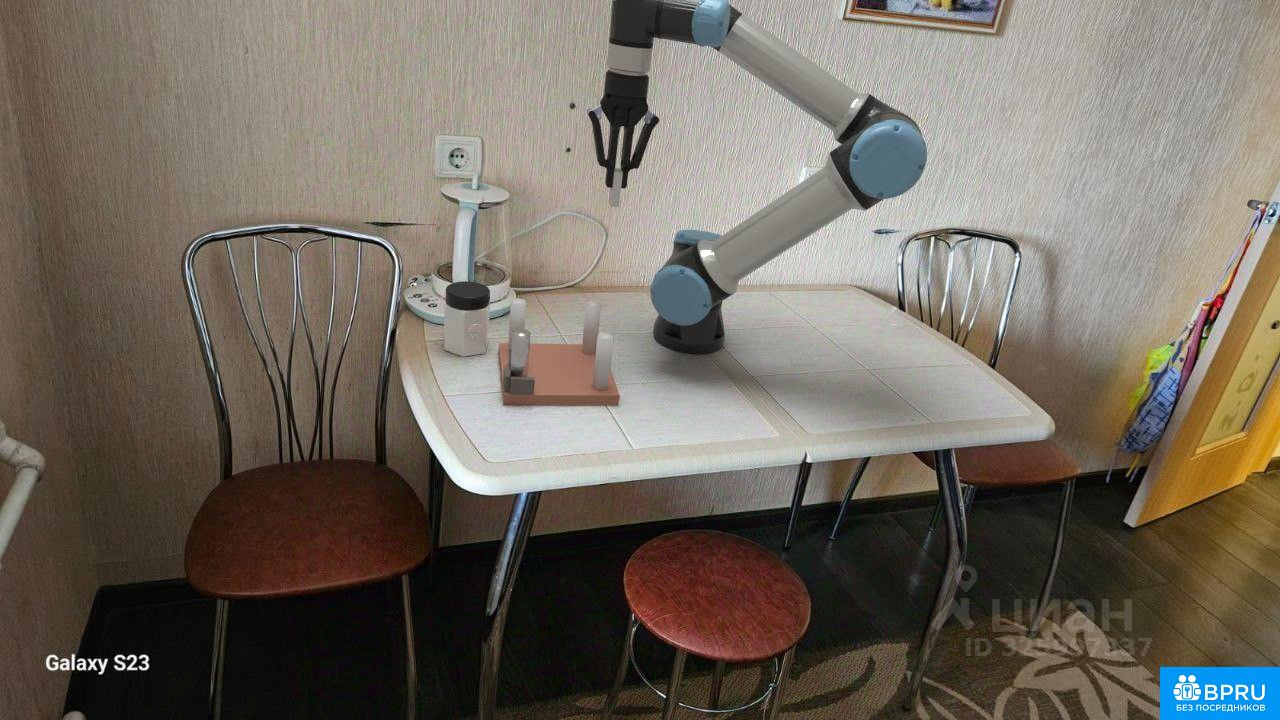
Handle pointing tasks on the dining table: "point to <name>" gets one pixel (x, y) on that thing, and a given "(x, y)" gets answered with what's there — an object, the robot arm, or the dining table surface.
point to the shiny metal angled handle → (519, 353)
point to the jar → (466, 318)
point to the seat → (561, 366)
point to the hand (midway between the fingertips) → (613, 204)
